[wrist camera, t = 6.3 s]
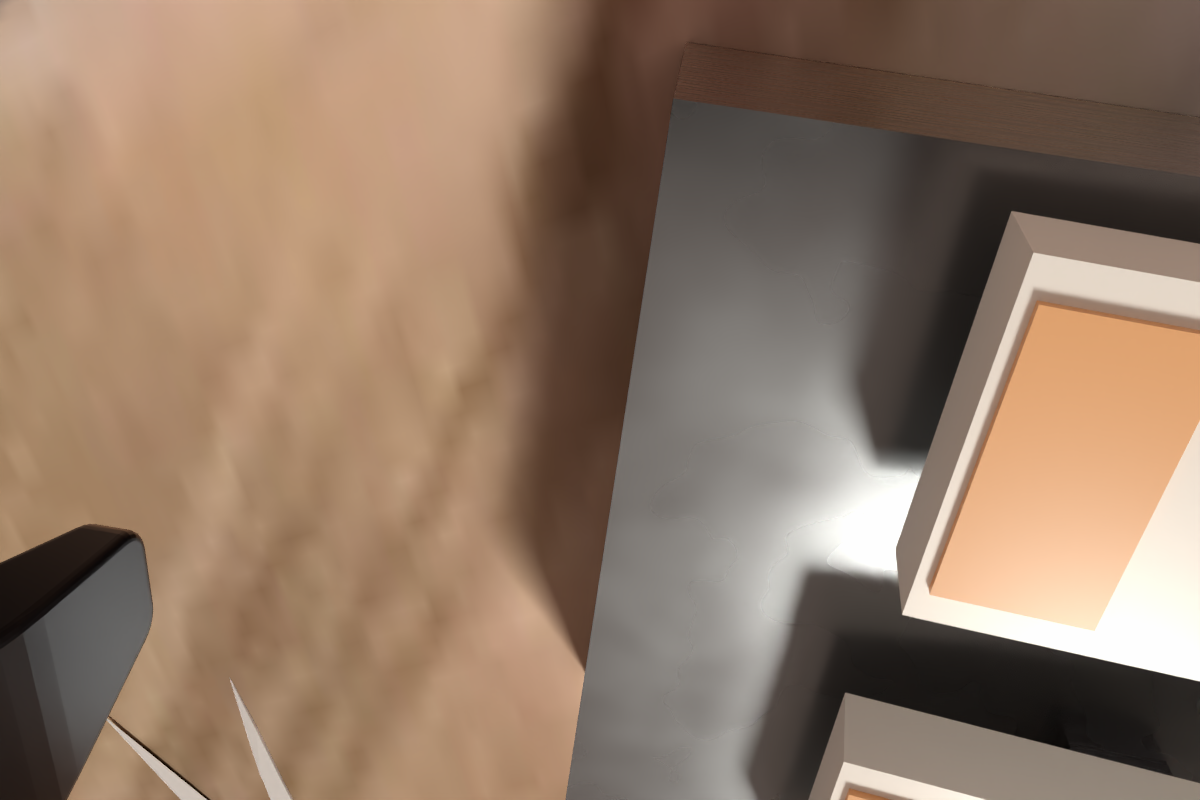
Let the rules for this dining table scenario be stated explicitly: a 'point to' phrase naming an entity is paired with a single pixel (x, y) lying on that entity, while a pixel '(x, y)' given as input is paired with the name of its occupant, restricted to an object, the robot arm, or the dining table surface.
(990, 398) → the rocker near
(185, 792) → the scissors
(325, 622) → the dining table surface
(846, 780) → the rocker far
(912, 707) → the breaker box
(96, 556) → the robot arm
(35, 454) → the dining table surface
